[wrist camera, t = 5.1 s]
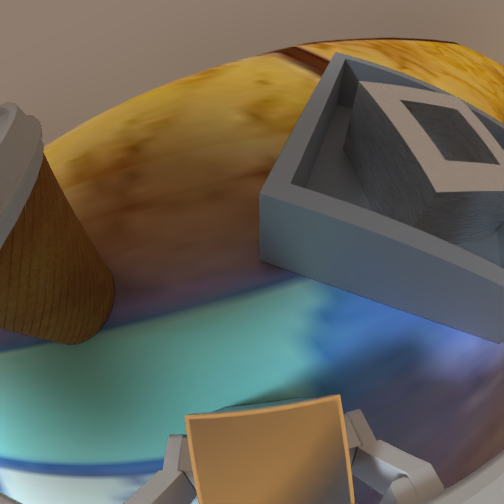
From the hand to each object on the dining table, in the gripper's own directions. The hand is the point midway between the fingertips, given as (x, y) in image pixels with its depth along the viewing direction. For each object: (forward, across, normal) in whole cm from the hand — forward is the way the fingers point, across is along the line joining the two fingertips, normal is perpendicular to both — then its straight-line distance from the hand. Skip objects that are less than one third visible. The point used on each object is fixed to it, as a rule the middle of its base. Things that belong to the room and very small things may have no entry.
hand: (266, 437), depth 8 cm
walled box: (+12, -13, -6) cm, 19 cm away
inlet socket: (+12, -13, -6) cm, 19 cm away
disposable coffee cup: (+9, +11, -2) cm, 15 cm away
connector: (+3, 0, +4) cm, 5 cm away
